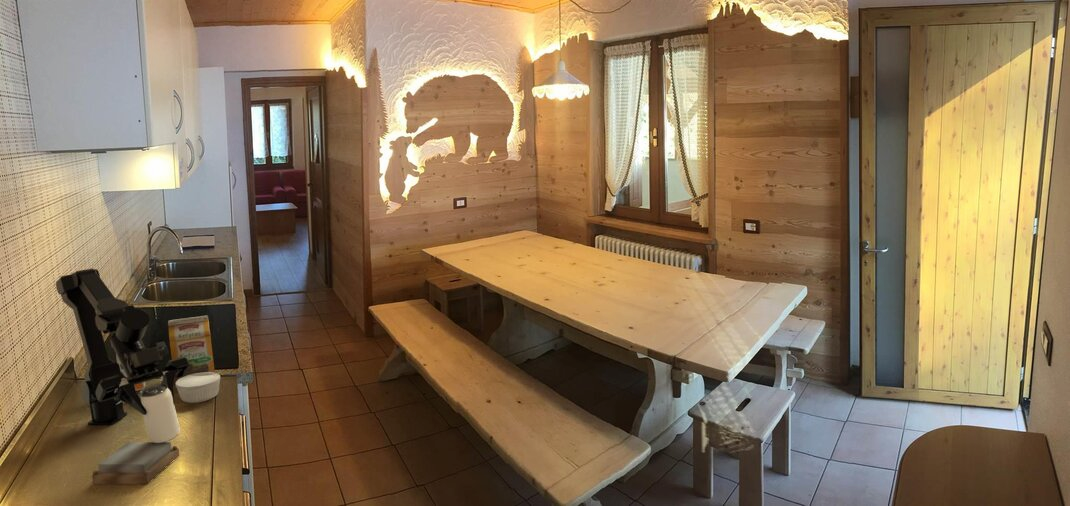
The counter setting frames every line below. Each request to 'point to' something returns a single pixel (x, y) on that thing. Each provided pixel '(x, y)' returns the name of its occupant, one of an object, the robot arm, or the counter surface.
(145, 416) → the can
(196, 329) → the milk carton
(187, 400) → the ramekin
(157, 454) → the whetstone on wooden base
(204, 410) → the counter surface
